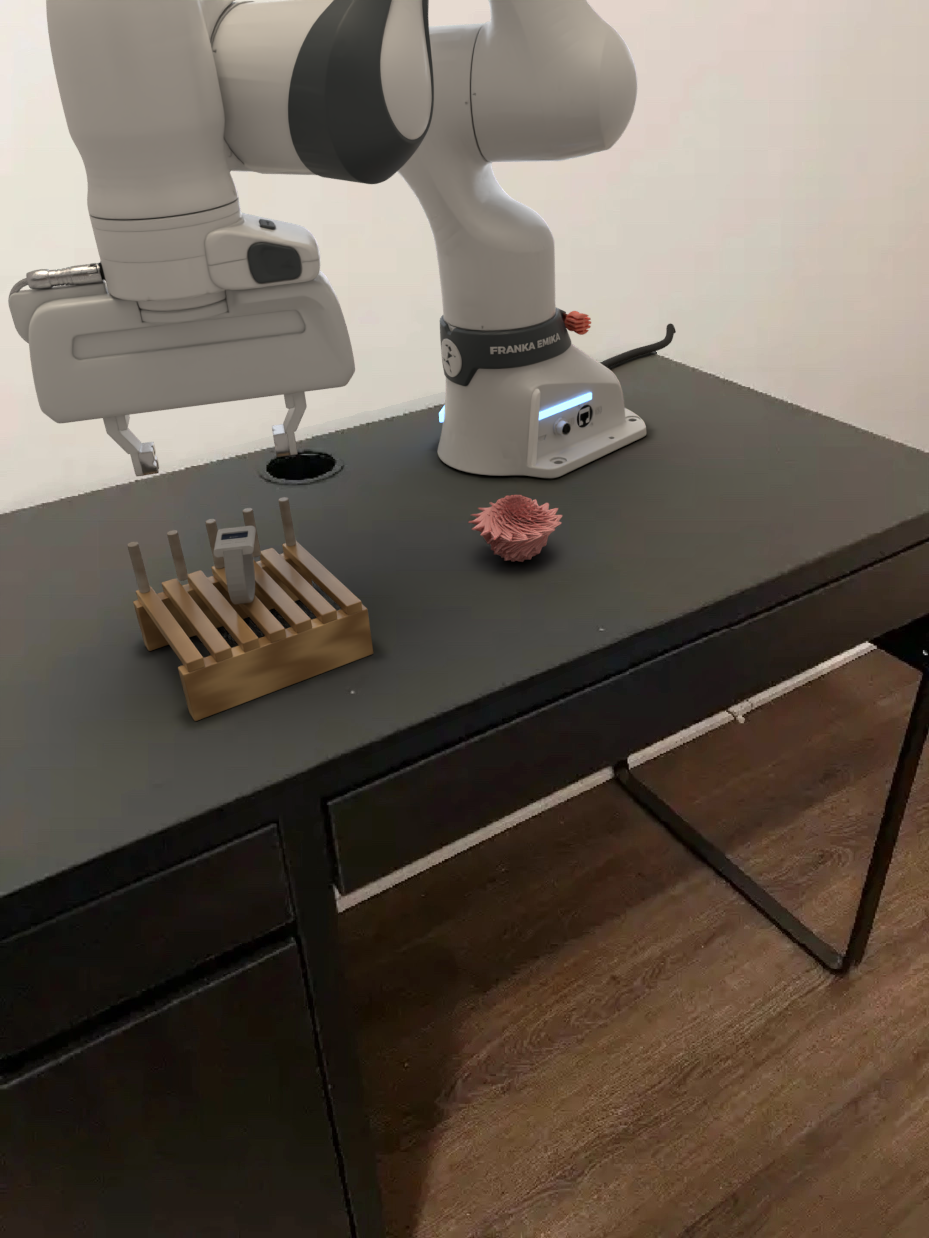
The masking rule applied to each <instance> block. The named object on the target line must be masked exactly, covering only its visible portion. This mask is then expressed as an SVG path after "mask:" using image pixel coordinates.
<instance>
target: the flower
mask: <svg viewBox="0 0 929 1238" xmlns="http://www.w3.org/2000/svg"><path fill="white" fill-rule="evenodd" d="M489 505H491V506H489V507H477V509H478V510H479V511H481V512H479V513H472V514H471V513H470V516H471V517H474V518H475V519H473V520H469V521H468V522H467V523H468V524H473V525H474V527H472V528H471V529H470V530H472V531H475V532H479V533H480V535H479V536H480V537H483V539H484V540H485V542H486V544H487V545H490V550H491V551H493V555H494V556H495V555H496V556H500V557H501V559H503V561H505V562H507V561H510V562H513V563H514V562H519V563H520V562H521V563H524V561H525V560H532V557H536V556H537V555H539V554H541V552H542V549H543V547H546V546H547V543H548V540H549V536H550V535H551V534H552V533H553V532H555V531H556V528H557V527H559V526H561V525H562V524H563V522H562V521H560V520H561V519H562V518H563V514H557V513H558V510H559V507H555V508H550V509H549V507H550V503H549V502H545V503H544V504H541V505H539V504H538V501H537V499H536V498H535V499H533V500H532V498H530V497H527V496H524V495H522V494H510V495H505V496H504V497H500V498H499V499H497V500H496V502H495V503H494V502H492V501H490V502H489Z"/></svg>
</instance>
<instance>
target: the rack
mask: <svg viewBox="0 0 929 1238" xmlns="http://www.w3.org/2000/svg"><path fill="white" fill-rule="evenodd" d="M278 507H279V512H280V513H279V514H280V518H281V523H282V529H283V536H284V540H285V543H282V545H281V546H282V552H283V553H280V554H279V552H278V551H277V550H276V549H275V548H274V547H270V548H266V549H264V550H261V545H260V540H259V534H258V529H257V524H256V519H255V514H254V509H253V508H251V507H247V508H243V509H242V511H241V512H242V516H243V522H244V526H254V527H255V529H256V533H255V541H254V549H253V553H252V554H253V561H254V572H255V595H254V599H253V601H252V602H251V603H244V604H233V603H232V601H231V599H230V595H229V592H228V587H227V581H226V574H225V565H224V557H216V556H214V547H215V542H216V537H217V532H218V530H219V529H218V525H217V520H216V519H214V518H209V519H207V520H205V528H206V532H207V537H208V541H209V546H210V550H211V555H212V556H211V557H212V560H213V566H211V567H210V568H211V573H212V575H211V576H207V575H206V574H205V573H204V571H202V569H199V570H197V571H193V572H191V573H188V569H187V566H186V561H185V557H184V552H183V547H182V544H181V539H180V535H179V532H178V530H175V529H171V530H169V531H167V532H166V536H167V540H168V544H169V548H170V553H171V556H172V561H173V564H174V569H175V574H176V577H174V578H171V579H169V580H165V581H162V582H161V587H162V591H161V592H159V593H156V591H155V589H153V587H152V586H151V585H150V582H149V579H148V576H147V571H146V567H145V563H144V560H143V556H142V552H141V549H140V545H139V542H138V541H130V542H128V543H127V545H126V547H127V550H128V554H129V558H130V561H131V565H132V569H133V573H134V577H135V579H136V584H137V588H138V589H137V590H135V594H136V598H137V599H136V600H133V602H132V603H133V607H134V611H135V615H136V618H137V622H138V625H139V630H140V633H141V636H142V640H143V643H144V646H145V647H146V649H147V650H148V651H149V652H151V651H154V650H157V649H160V648H163V647H166V646H170V648H171V649H172V651H173V653H175V654H176V656H177V658H178V659H179V660H180V662H181V664H182V665H180V666H178V667H177V670H178V674H179V678H180V682H181V686H182V689H183V690H182V691H183V693H184V697H185V702H186V705H187V708H188V709H187V710H188V713H189V715H190V716H191V718H192V719H193V721H194V722H197V721H200V720H202V719H205V718H208V717H211V716H213V715H216V714H218V713H221V712H224V711H227V710H229V709H231V708H235V707H237V706H240V705H242V704H245V703H247V702H250V701H253V700H255V699H258V698H261V697H263V696H266V695H268V694H271V693H274V692H276V691H279V690H282V689H284V688H287V687H289V686H293V685H294V684H297V683H300V682H303V681H306V680H308V679H311V678H314V677H316V676H319V675H322V674H324V673H326V672H329V671H331V670H334V669H337V668H340V667H342V666H345V665H347V664H350V663H353V662H356V661H358V660H360V659H363V658H366V657H369V656H371V655H373V654H374V648H373V640H372V633H371V626H370V625H371V624H370V618H369V611H368V610H369V609H368V608H367V607H366V606H365V605H364V604H363V603H362V600H361V599H360V598H358V597H357V596H356V595H355V594H354V593H353V592H352V591H351V590H350V589H349V588H348V587H347V586H346V585H344V583H342V581H340V580H339V579H338V578H337V576H335V575H334V574H332V572H331V571H329V570H328V569H327V568H326V567H325V566H324V565H323V564H322V563H321V562H320V561H319V560H317V559H316V557H314V556H313V555H312V554H311V553H310V551H308V550H307V549H306V548H305V547H303V546H302V545H301V544H300V543H299V542H298V541H297V539H296V535H295V529H294V523H293V518H292V512H291V511H292V510H291V505H290V499H289V497H287V496H286V497H285V496H283V497H279V499H278ZM254 558H259V560H258V561H256V560H255V559H254ZM186 580H187V583H186V584H183V585H182V583H181V582H182V581H183V582H184V581H186ZM313 583H314V584H315V585H316V586H318V588H319V589H320V590H322V591H323V593H325V595H327V596H328V597H329V598H330V599H331V600H332V601H333V602H334V603H335V604H336V605H337V606H338V607H339V608H340V609H338V610H337V609H336V608H335V607H334V606H333V605H332V604H331V603H330V602H329V601H328V600H327V599H326V598H325V597H323V596H322V594H320V592H318V591H317V589H315V588H314V585H313ZM298 601H300V602H301V603H302V604H303V606H305V607H306V608H307V609H308V610H309V612H310V613H312V615H314V616H315V618H313V619H311V617H310V616H308V614H307V613H306V612H305V611H304V610H303V609H302V608H301V607H300V606H299V605H298V604H297V602H298ZM273 609H274V610H275V611H276V612H277V613H278V614H279V615H280V616H281V618H283V619H284V620H285V622H286V623H287V624H288V625H289V626H290V627H287V628H285V627H284V626H283V624H282V623H281V622H280V621H279V620H278V619H277V618H276V617H275V616H274V614H272V613H271V610H273ZM247 618H249V619H250V620H251V621H252V623H254V624H255V626H256V627H257V628H258V629H259V630H260V632H261V633H262V634H263V635H264V636H262V637H258V636H257V634H256V633H255V632H254V631H253V630H252V629H251V627H250V626H249V625H248V624H247V623H246V621H245V619H247ZM221 627H223V628H224V629H225V631H227V633H228V634H229V635H230V637H231V638H232V639H233V641H234V642H235V643H236V644H237V645H235V646H233V647H231V646H230V644H229V643H228V642H227V641H226V639H225V638H224V637H223V636H222V633H220V631H218V628H221ZM193 637H197V638H198V639H199V640H200V643H202V645H203V646H204V647H205V648H206V650H207V651H208V652H209V654H210V655H208V656H205V657H204V656H203V655H202V654H201V653H200V651H199V650H198V648H197V647H196V645H195V644H194V643H193V642H192V640H191V639H190V638H193Z"/></svg>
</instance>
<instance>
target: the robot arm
mask: <svg viewBox="0 0 929 1238" xmlns="http://www.w3.org/2000/svg"><path fill="white" fill-rule="evenodd" d="M487 1H488V6H489V14H490V16H489V17H490V20H489V21H486V22H483V23H482V22H481V23H470V24H469V23H468V24H467V23H466V24H447V25H430V24H429V22H430V21H429V8H430V7H429V6H430V5H429V3H430V0H263V1H254V0H246V1H245V0H244V1H236V0H45V3H46V4H45V7H46V9H45V10H46V11H45V12H46V23H47V24H46V25H47V30H48V31H47V32H48V33H47V34H48V40H49V46H50V53H51V58H52V63H53V69H54V74H55V79H56V83H57V88H58V93H59V97H60V102H61V106H62V110H63V114H64V118H65V122H66V126H67V130H68V133H69V135H70V138H71V140H72V142H73V143H74V146H75V147H76V149H77V151H78V153H79V155H80V157H81V160H82V162H83V165H84V169H85V173H86V181H87V195H86V205H87V211H88V215H89V220H90V224H91V228H92V231H93V236H94V240H95V244H96V249H97V253H98V255H99V260H100V261H99V262H92V263H85V264H77V265H72V266H67V267H63V268H57V269H49V268H41V269H34V270H31V271H28V272H26V274H25V278H22V279H20V280H18V281H17V282H16V283H14V285H13V286H12V288H11V289H10V292H9V294H8V298H7V299H8V300H7V302H8V303H7V304H8V308H9V311H10V315H11V318H12V322H13V325H14V328H15V330H16V332H17V334H18V336H19V337H20V338H21V339H22V340H23V341H24V342H26V343H27V344H28V347H29V348H28V349H29V358H30V365H31V366H30V367H31V371H32V373H31V374H32V379H33V385H34V389H35V393H36V394H35V395H36V398H37V402H38V406H39V408H40V410H41V412H42V413H43V414H44V415H45V416H46V417H48V418H49V419H50V420H52V421H53V422H54V423H57V424H69V423H76V422H83V421H91V420H99V419H102V420H103V425H104V428H105V432H106V434H107V435H108V436H109V438H111V439H112V440H113V441H114V442H115V443H116V444H117V445H118V446H119V447H120V448H121V449H122V450H123V451H124V452H125V453H126V454H127V455H130V459H131V462H132V467H133V471H134V474H135V477H145V476H150V475H157V474H159V470H160V464H159V463H160V462H159V458H158V455H156V453H157V450H156V446H155V443H154V441H147V442H142V441H141V440H140V439H139V438H138V437H137V436H136V435H135V434H134V433H133V432H132V430H130V428H129V424H130V419H131V417H130V415H137V414H144V413H153V412H159V411H169V410H176V409H184V408H191V407H199V406H206V405H214V404H222V403H229V402H235V401H236V402H237V401H245V400H251V399H260V398H267V397H268V398H269V397H276V396H282V395H283V398H284V403H285V408H286V409H287V413H286V414H285V418H284V420H283V423H280V424H275V425H274V424H273V425H271V432H272V437H273V438H272V439H273V442H274V443H273V444H274V449H275V456H276V458H281V457H288V456H294V455H295V456H296V455H298V454H299V453H298V446H297V440H296V433H295V432H297V431H298V428H299V426H300V424H301V421H302V419H303V418H304V417H303V416H304V414H305V411H306V410H307V408H308V406H307V405H308V404H307V400H306V399H307V398H306V392H313V391H314V392H315V391H320V390H328V389H337V388H342V387H345V386H347V385H348V384H349V382H350V381H351V379H352V378H353V376H354V374H355V372H356V364H355V363H356V362H355V357H354V351H353V347H352V341H351V338H350V333H349V330H348V326H347V323H346V320H345V316H344V312H343V309H342V306H341V304H340V300H339V298H338V295H337V293H336V291H335V289H334V287H333V285H332V283H331V281H330V279H329V278H328V276H327V275H326V274H325V273H324V272H323V271H322V270H321V265H322V264H321V263H322V261H321V250H320V246H319V242H318V240H317V239H316V237H315V235H314V234H313V233H312V231H310V230H309V229H308V228H307V227H305V226H303V225H301V224H297V223H292V222H288V221H283V220H277V219H272V218H269V217H268V218H267V217H263V216H260V215H259V216H258V215H254V214H249V213H245V212H242V209H241V203H240V197H239V192H238V189H237V185H236V182H235V180H234V178H233V176H232V174H231V172H236V173H237V172H238V173H258V174H262V175H286V176H287V175H289V176H318V177H321V178H323V179H324V178H325V179H330V180H331V179H333V180H337V181H345V182H352V183H358V184H366V185H378V184H381V183H384V182H386V181H388V180H389V179H391V178H392V177H393V176H394V175H395V174H396V173H397V174H398V175H399V176H400V177H401V178H402V180H403V181H404V182H405V183H406V185H407V186H408V187H409V189H410V190H411V191H412V194H413V195H414V196H415V198H416V200H417V202H418V204H419V205H420V207H421V209H422V211H423V213H424V215H425V218H426V220H427V222H428V225H429V228H430V232H431V234H432V238H433V242H434V248H435V252H436V260H437V266H438V275H439V282H440V283H439V284H440V291H441V303H442V315H441V317H440V318H439V340H440V353H441V355H440V356H441V363H442V368H443V374H444V376H445V393H444V405H443V407H442V408H441V410H440V411H439V412H438V417H439V418H438V420H439V423H442V426H441V432H440V437H439V443H438V446H437V450H436V451H437V456H438V458H439V460H440V461H441V462H443V463H444V464H446V465H447V466H448V467H451V468H453V469H456V470H457V471H462V472H465V473H468V474H474V475H482V476H498V477H501V476H502V477H505V476H508V477H509V476H528V477H533V478H541V479H556V478H559V477H562V476H564V475H566V474H568V473H571V472H572V471H575V470H577V469H579V468H581V467H583V466H585V465H587V464H589V463H591V462H593V461H596V460H598V459H600V458H602V457H604V456H607V455H608V454H610V453H612V452H615V451H617V450H618V449H621V448H623V447H625V446H627V445H630V444H632V443H634V442H635V441H638V440H640V439H642V438H644V437H645V436H647V426H646V423H645V421H644V419H642V418H641V417H640V416H639V415H638V414H636V412H633V411H632V410H630V409H628V408H627V407H625V399H624V393H623V388H622V385H621V382H620V380H619V378H618V376H617V375H616V374H615V373H614V372H613V371H612V370H611V369H610V368H611V367H613V366H616V365H618V364H620V363H623V362H626V361H628V360H631V359H633V358H636V357H640V356H644V355H648V354H651V353H654V352H658V351H661V350H663V349H665V348H666V347H668V346H669V345H670V344H672V341H673V339H674V335H675V334H676V332H677V330H676V328H675V325H674V324H673V323H668V324H667V325H666V328H665V329H666V330H665V331H666V332H665V337H664V338H663V339H661V340H659V341H657V342H654V343H650V344H647V345H643V346H639V347H636V348H633V349H629V350H627V351H625V352H622V353H619V354H616V355H614V356H612V357H609V358H606V359H604V360H602V361H601V362H600V361H598V360H597V359H596V358H593V356H591V355H590V354H588V353H587V352H585V351H584V350H582V349H580V348H579V347H578V346H576V345H575V344H573V342H572V339H571V336H570V334H569V332H574V333H576V334H577V335H578V336H579V335H580V336H581V335H582V336H584V335H586V334H587V333H589V329H590V328H591V327H592V325H591V324H592V321H591V320H592V319H591V317H589V314H586V313H582V312H579V311H578V310H572V311H570V312H568V313H567V312H566V311H565V310H564V309H561V308H558V307H557V305H556V301H557V300H556V242H555V237H554V234H553V231H552V230H551V228H550V226H549V224H548V222H546V220H545V219H544V217H543V216H542V215H540V213H538V212H537V211H536V210H534V209H533V208H532V207H530V206H528V205H527V204H525V203H522V202H521V201H519V200H517V199H515V198H513V197H512V196H510V195H509V194H508V193H507V192H506V191H505V190H504V189H503V187H502V185H500V183H499V181H498V179H497V177H496V174H495V172H494V169H493V164H492V163H524V162H525V163H528V162H529V163H531V162H535V163H536V162H563V161H567V160H572V159H577V158H582V157H586V156H590V155H593V154H597V153H601V152H605V151H609V150H610V149H612V148H613V147H614V146H615V145H616V144H617V143H618V141H619V140H620V139H621V138H622V136H623V134H624V133H625V131H626V130H627V128H628V126H629V124H630V122H631V120H632V117H633V115H634V112H635V107H636V104H637V98H638V85H639V84H638V73H637V66H636V63H635V60H634V55H633V54H632V51H631V49H630V47H629V46H628V44H627V42H626V40H625V39H624V38H623V36H622V35H621V33H620V32H619V31H617V29H616V28H615V27H614V26H613V25H611V24H610V23H609V22H608V21H607V20H605V18H603V17H602V16H601V15H600V14H599V13H598V12H597V11H596V10H595V9H594V7H593V6H592V5H591V4H590V3H589V2H588V0H487ZM27 286H28V288H29V289H23V288H24V287H27Z"/></svg>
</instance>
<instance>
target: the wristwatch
mask: <svg viewBox="0 0 929 1238" xmlns="http://www.w3.org/2000/svg"><path fill="white" fill-rule="evenodd" d="M256 529H257V528H256ZM256 529H255V527H254V526H245V525H243V526H236V527H225V528H219V529H218V532H217V537H216V542H215V547H214V556H216V557H224V565H225V574H226V581H227V587H228V592H229V595H230V599H231V601H232V603H233V604H244V603H251V602H252V601H253V599H254V595H255V572H254V561H253V559H254V557H253V554H252V553H253V549H254V541H255V533H256Z"/></svg>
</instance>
